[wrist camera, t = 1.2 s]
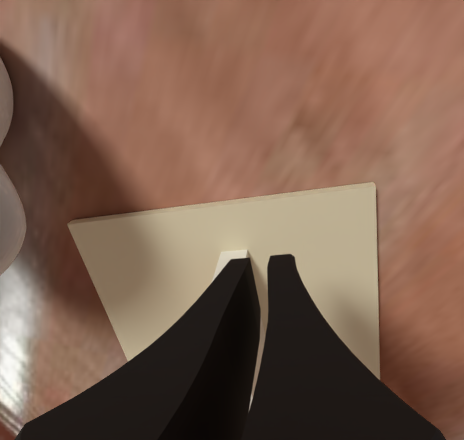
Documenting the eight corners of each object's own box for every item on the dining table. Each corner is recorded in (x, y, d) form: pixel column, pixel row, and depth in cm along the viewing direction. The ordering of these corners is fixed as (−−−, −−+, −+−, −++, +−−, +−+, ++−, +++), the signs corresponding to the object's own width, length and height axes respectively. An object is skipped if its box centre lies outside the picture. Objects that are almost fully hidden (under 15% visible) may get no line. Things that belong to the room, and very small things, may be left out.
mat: (373, 182, 19) (375, 186, 18) (378, 389, 25) (380, 397, 25) (72, 220, 22) (66, 224, 22) (147, 391, 29) (144, 398, 29)
